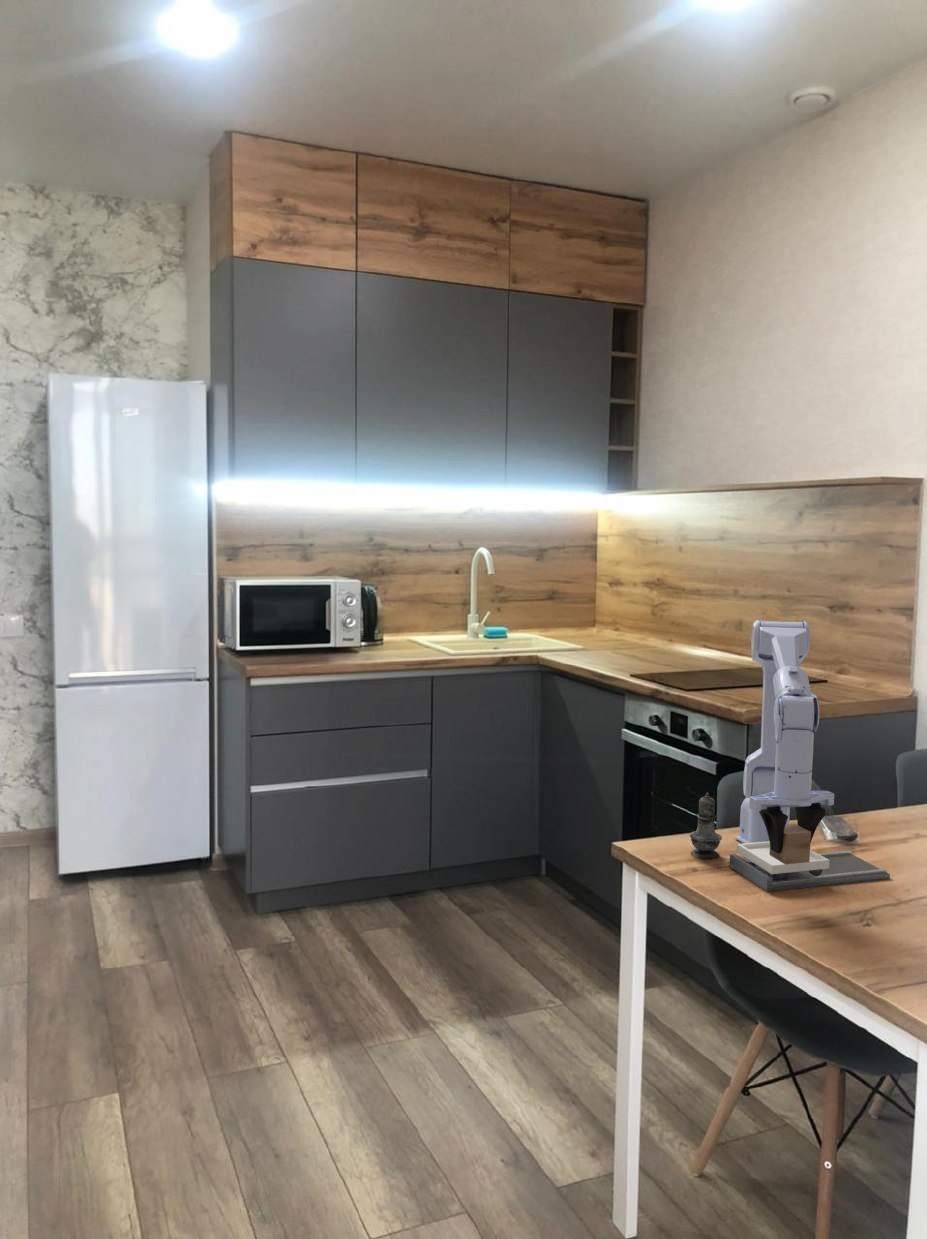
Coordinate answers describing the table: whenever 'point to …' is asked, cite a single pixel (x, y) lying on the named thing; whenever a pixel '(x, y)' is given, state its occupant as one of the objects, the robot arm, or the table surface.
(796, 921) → the table surface
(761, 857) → the white recessed tray
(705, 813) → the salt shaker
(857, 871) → the dark grey tray
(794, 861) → the plain brown block
